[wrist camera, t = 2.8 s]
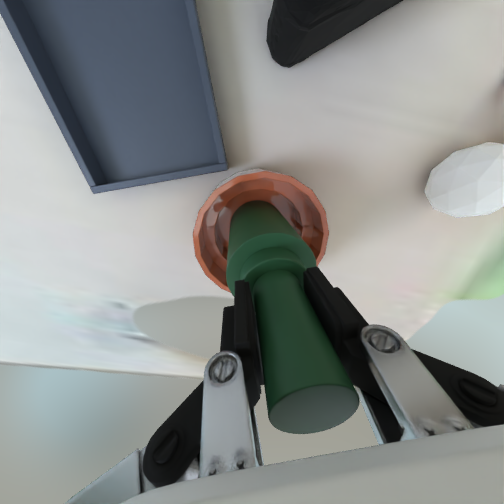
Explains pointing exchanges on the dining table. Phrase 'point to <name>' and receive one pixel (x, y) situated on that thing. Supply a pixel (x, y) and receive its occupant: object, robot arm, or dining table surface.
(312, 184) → the dining table surface
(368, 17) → the film camera
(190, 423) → the robot arm
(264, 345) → the bottle
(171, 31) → the tray
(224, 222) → the bowl
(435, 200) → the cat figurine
